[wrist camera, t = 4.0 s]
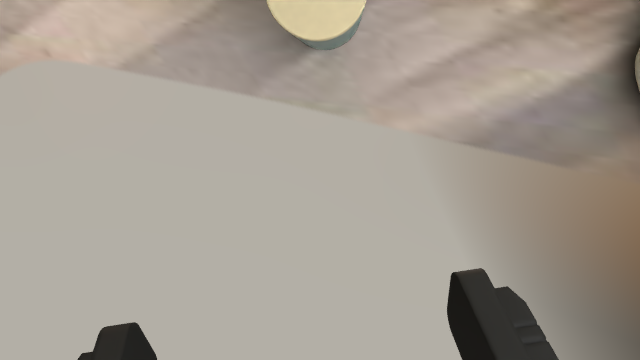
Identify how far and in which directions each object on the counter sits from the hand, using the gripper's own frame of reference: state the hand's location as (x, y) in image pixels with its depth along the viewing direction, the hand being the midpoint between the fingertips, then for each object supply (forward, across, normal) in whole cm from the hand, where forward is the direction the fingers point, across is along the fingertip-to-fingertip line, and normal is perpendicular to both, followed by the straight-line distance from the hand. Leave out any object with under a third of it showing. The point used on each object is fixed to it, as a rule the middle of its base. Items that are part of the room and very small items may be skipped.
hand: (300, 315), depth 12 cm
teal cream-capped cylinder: (+18, +3, +2) cm, 18 cm away
